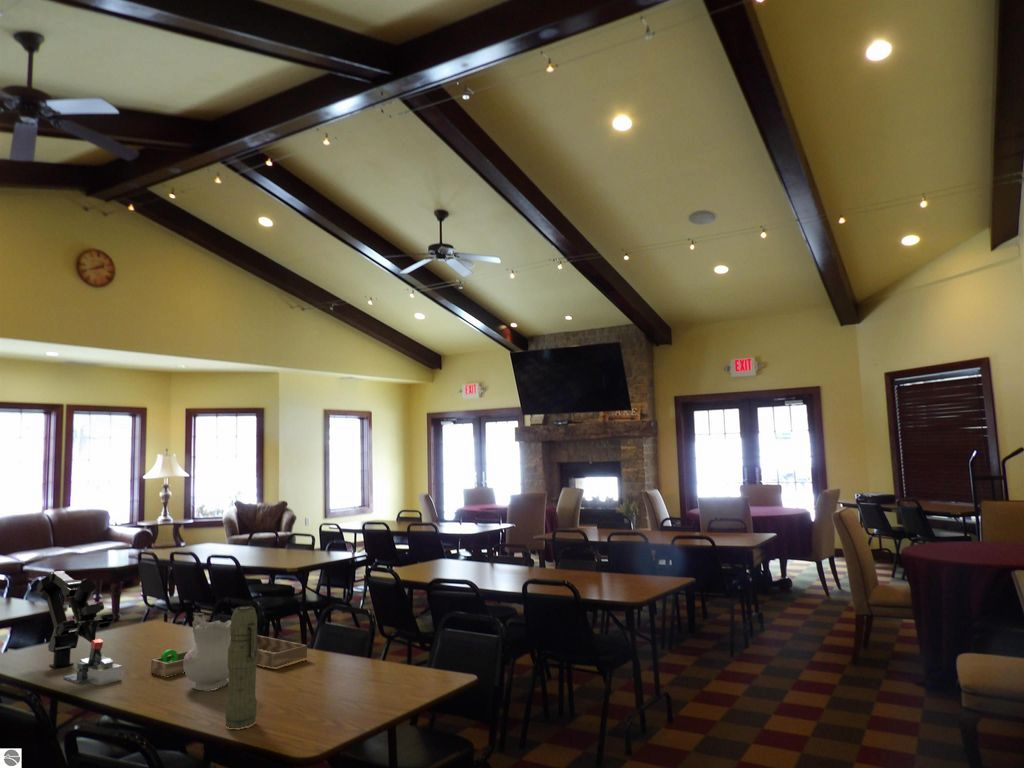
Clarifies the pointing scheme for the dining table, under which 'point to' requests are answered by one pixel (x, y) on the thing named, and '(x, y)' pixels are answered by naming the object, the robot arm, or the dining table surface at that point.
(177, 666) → the part crate
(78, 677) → the press frame
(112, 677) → the housing
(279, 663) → the brown open crate
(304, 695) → the dining table surface
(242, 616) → the thermos
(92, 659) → the lever
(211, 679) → the ceramic pitcher
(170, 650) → the mechanical part
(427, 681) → the dining table surface
